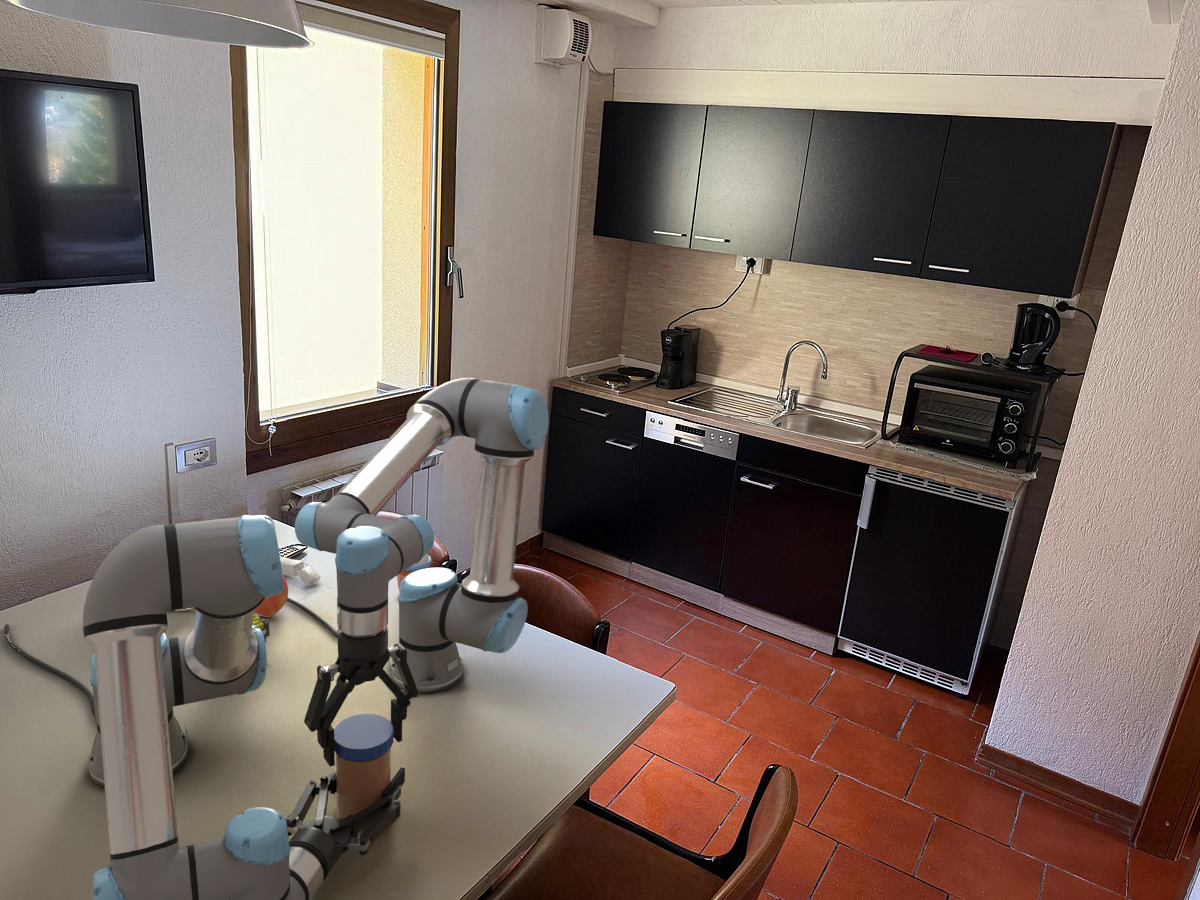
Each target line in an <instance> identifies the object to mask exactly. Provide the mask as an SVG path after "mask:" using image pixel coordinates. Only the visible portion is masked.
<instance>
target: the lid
mask: <svg viewBox="0 0 1200 900" xmlns="http://www.w3.org/2000/svg"><path fill="white" fill-rule="evenodd" d="M333 729H334V747H335V755H336V754H337V755H338V756H340V757H342V758H344V759H346V760H350V761H368V760H372V759H375V758H378V757H380V756H382V755H384V754H385V753H386V752H387V751H388V750H389V749H390V748H391V749H392V746H393V744H394V742H395V741H394V740H395V738H394V729H393V725H392V723H391V720H390V719H388V718H387V717H386V716H383V715H380V714H377V713H376V714H375V713H359V714H355V715H350V716H349V717H345V718H344V719H342V720H341V721H340V722H338V723H337V724H336V726H335V727H334V728H333Z"/></svg>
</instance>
